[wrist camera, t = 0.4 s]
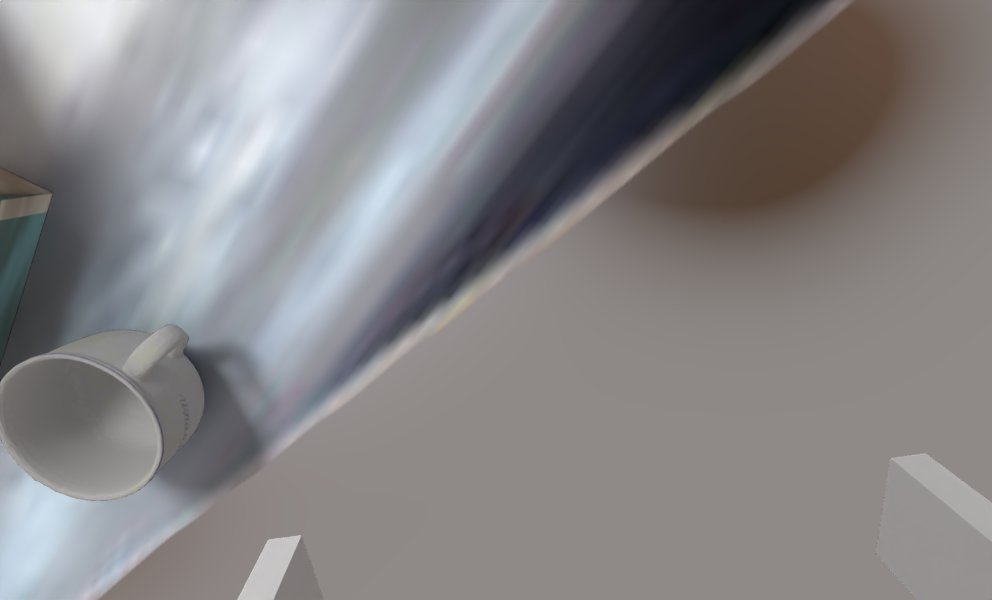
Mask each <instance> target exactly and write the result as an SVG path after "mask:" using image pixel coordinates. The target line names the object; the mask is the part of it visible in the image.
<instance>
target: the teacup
mask: <svg viewBox="0 0 992 600" xmlns="http://www.w3.org/2000/svg"><path fill="white" fill-rule="evenodd" d="M188 340H189V337H188V335H187V334H186V332H184V331H183V330H182V329H181V328H179V327H178V326H176V325H166V326H164V327H162V328H160V329H159V330H157V331H156V332H154V333H153V334H149V333H145V332H140V331H136V330H112V331H106V332H101V333H97V334H94V335H91V336H88V337H85V338H82V339H79V340H77V341H74V342H71V343H69V344H66V345H64V346H62V347H59V348H57V349H55V350H52V351H50V352H48V353H46V354H42V355H38V356H34V357H31V358H29V359H27V360H25V361H23V362H21V363H20V364H18V365H16V366H15V367H14V368H12V369H11V370H10V371H9V372H8V373H7V374H6V375H5V376H4V377H3V379H2V380H1V382H0V439H1V441H2V443H3V444H4V446H5V448H6V449H7V451H8V452H9V454H10V455H11V456H12V457H13V458H14V460H15V461H16V462H17V463H18V465H19V466H21V467H22V468H23V469H24V470H25V471H26V472H27V473H28V474H29V475H30V476H31V477H32V478H33V479H34V480H36V481H39V482H40V483H42V484H43V485H45V486H47V487H49V488H51V489H52V490H54V491H56V492H59V493H62V494H65V495H67V496H70V497H73V498H78V499H83V500H91V501H105V500H114V499H118V498H122V497H126V496H128V495H130V494H133V493H134V492H137V491H139V490H140V489H141V488H142V487H144V486H145V485H146V484H147V483H148V482H150V481H151V480H152V478H153V477H154V476H155V474H156V473H157V471H158V470H159V469H161V468H162V467H163V466H164V465H165V464H166V463H167V462H168V461H169V460H170V459H171V458H172V457H173V456H174V455H175V454H176V453H177V452H178V451H179V450H180V449H181V448H182V447H183V446H184V445H185V443H186V442H187V441H188V440H189V439H190V437H191V436H192V435H193V433H194V432H195V430H196V428H197V427H198V425H199V423H200V420H201V418H202V415H203V411H204V402H205V396H204V389H203V385H202V382H201V379H200V376H199V374H198V372H197V370H196V369H195V367H194V365H193V364H192V363H191V362H190V360H189V359H188V358H187V357H186V356H185V355H184V354H183V352H184V348H185V346H186V344H187V342H188Z"/></svg>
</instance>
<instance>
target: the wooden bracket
mask: <svg viewBox="0 0 992 600" xmlns="http://www.w3.org/2000/svg"><path fill="white" fill-rule="evenodd" d="M52 194H53V193H51V192H49V191H47V190H45V189H43V188H41V187H39V186H37V185H35V184H33V183H31V182H29V181H27V180H25V179H23V178H21V177H19V176H16V175H14V174H12V173H10V172H8V171H6V170H4V169H2V168H0V364H1V361H2V357H3V354H4V351H5V348H6V344H7V341H8V338H9V335H10V331H11V328H12V325H13V321H14V318H15V315H16V312H17V308H18V305H19V302H20V299H21V295H22V292H23V289H24V286H25V282H26V279H27V276H28V273H29V269H30V266H31V263H32V260H33V256H34V253H35V250H36V247H37V243H38V240H39V237H40V233H41V230H42V227H43V224H44V220H45V217H46V214H47V211H48V207H49V204H50V201H51V198H52Z"/></svg>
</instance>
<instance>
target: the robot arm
mask: <svg viewBox="0 0 992 600" xmlns="http://www.w3.org/2000/svg"><path fill="white" fill-rule="evenodd" d="M876 555H877V556H878V557H879V558H880V559H881V560H882V561H883V562H884V564H885V565H886V566H887V567H888V568H889V569H890V570H891V571H892V572H893V573H894V575H895V576H896V577H897V578H898V579H899V580H900V581H901V582H902V583H903V585H904V586H905V587H906V588H907V589H908V590H909V591H910V592H911V593H912V594H913V596H914V597H915V598H916V599H917V600H992V503H991V502H990V501H989V500H987V499H986V498H985V497H983V496H982V495H981V494H979V493H978V492H976V491H975V490H974V489H972V488H971V487H970V486H969V485H967V484H966V483H964V482H963V481H962V480H960V479H959V478H958V477H956V476H955V475H954V474H952V473H951V472H950V471H948V470H947V469H946V468H944V467H943V466H942V465H940V464H939V463H938V462H936V461H935V460H934V459H932V458H931V457H929V456H928V455H927V454H926V453H924V454H917V455H909V456H901V457H894V458H890V462H889V469H888V476H887V482H886V489H885V496H884V504H883V509H882V517H881V524H880V530H879V537H878V543H877V550H876ZM237 600H324V598H323V595H322V592H321V590H320V587H319V584H318V581H317V578H316V575H315V573H314V570H313V567H312V564H311V561H310V558H309V555H308V552H307V549H306V546H305V544H304V541H303V538H302V536H301V535H300V536H292V537H284V538H277V539H269V540H268V541H267V543H266V545H265V547H264V549H263V551H262V553H261V555H260V557H259V559H258V561H257V563H256V565H255V566H254V568H253V570H252V572H251V574H250V576H249V578H248V580H247V582H246V584H245V586H244V588H243V590H242V592H241V594H240V596H239V598H238V599H237Z"/></svg>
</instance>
